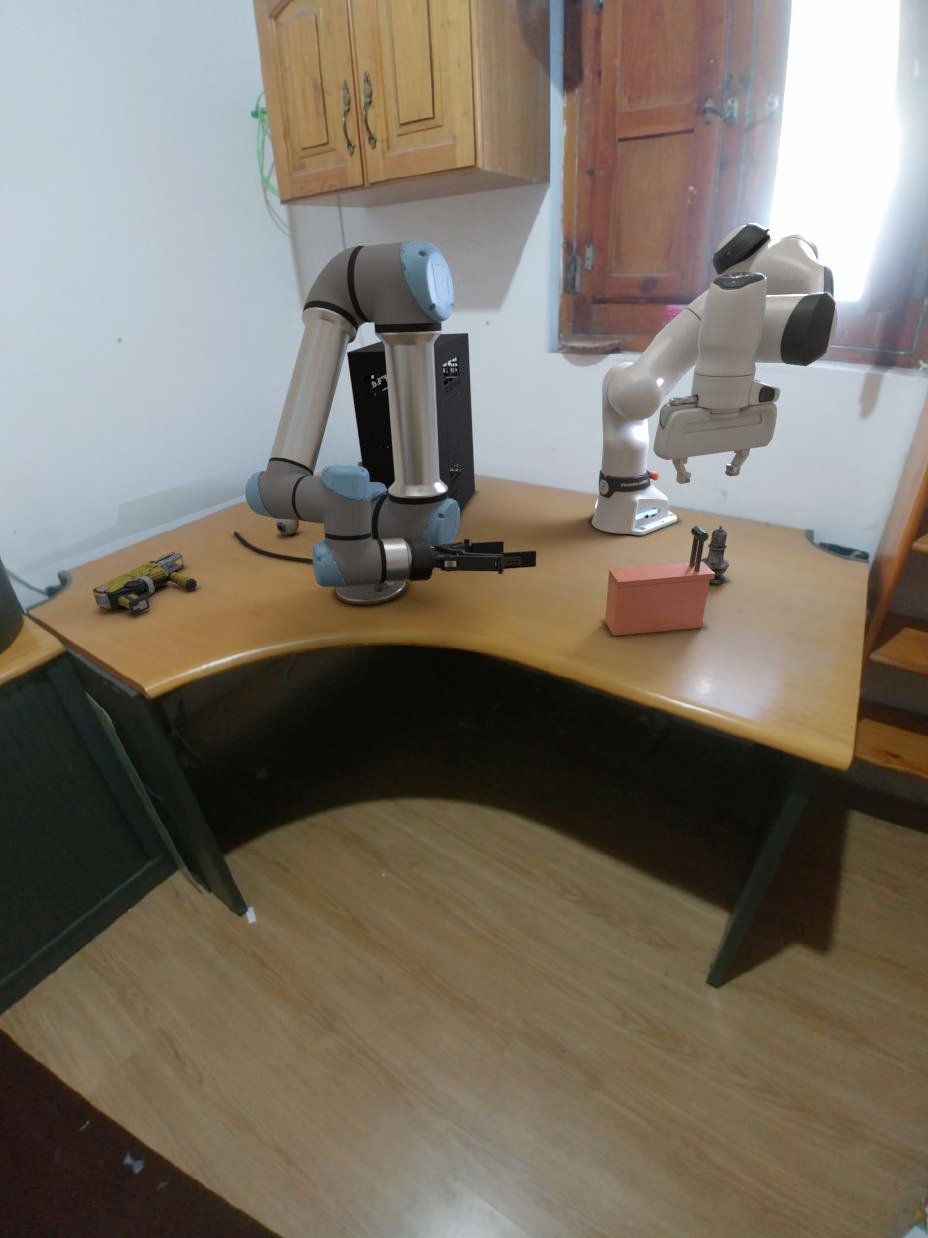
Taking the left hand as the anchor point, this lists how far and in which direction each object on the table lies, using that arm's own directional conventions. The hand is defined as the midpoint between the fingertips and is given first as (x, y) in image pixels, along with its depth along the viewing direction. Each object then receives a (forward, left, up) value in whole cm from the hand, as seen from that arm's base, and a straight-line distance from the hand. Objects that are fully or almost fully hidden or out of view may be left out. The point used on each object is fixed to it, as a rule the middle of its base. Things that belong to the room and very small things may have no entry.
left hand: (518, 553), depth 110 cm
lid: (+25, +6, -5) cm, 26 cm away
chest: (+25, +6, -15) cm, 29 cm away
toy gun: (-83, -7, -15) cm, 84 cm away
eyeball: (-73, +30, -15) cm, 80 cm away
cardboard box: (-42, +55, -15) cm, 71 cm away
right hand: (+31, +9, +13) cm, 34 cm away
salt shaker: (+35, +29, -15) cm, 48 cm away
